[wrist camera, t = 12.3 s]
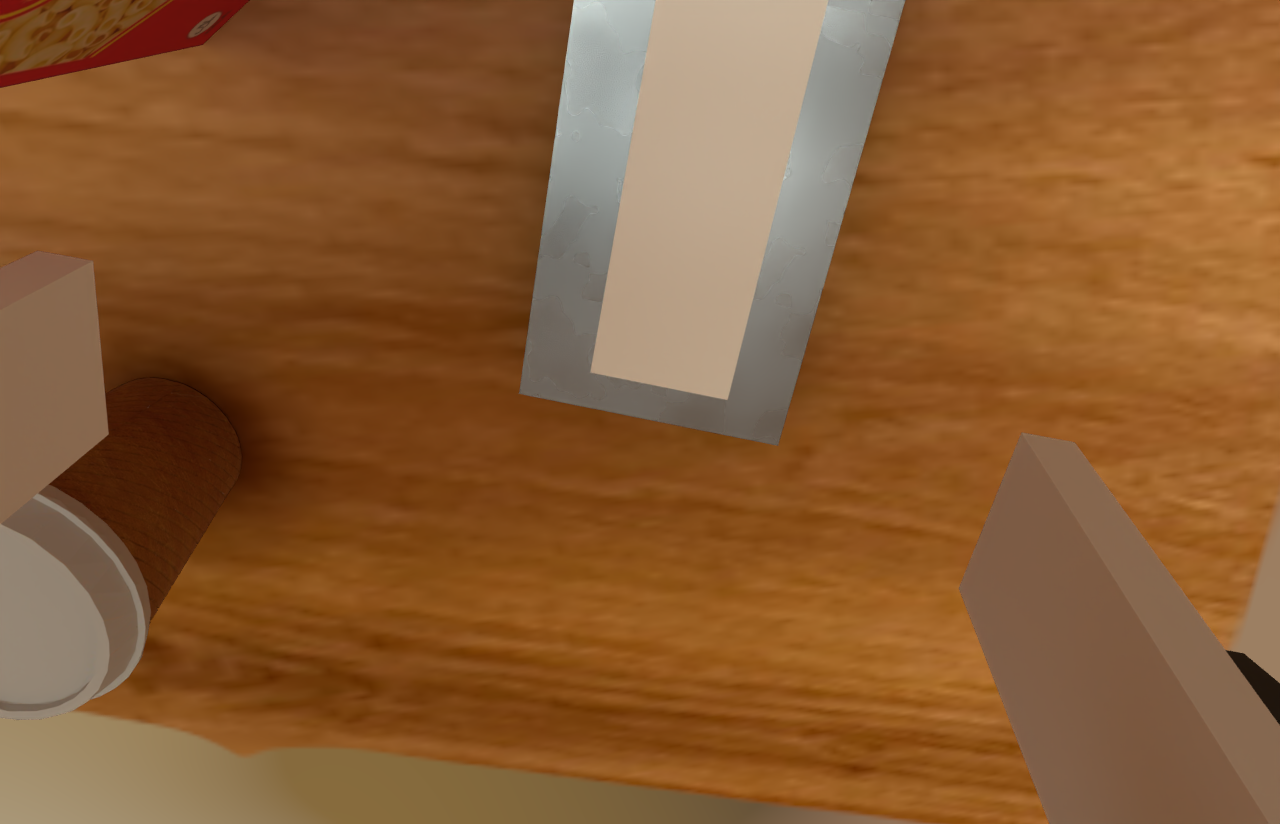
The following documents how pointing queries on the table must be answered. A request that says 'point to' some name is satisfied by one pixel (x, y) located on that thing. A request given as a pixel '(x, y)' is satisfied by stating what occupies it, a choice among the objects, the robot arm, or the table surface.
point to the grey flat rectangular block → (798, 241)
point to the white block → (702, 187)
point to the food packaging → (99, 32)
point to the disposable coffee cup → (108, 546)
